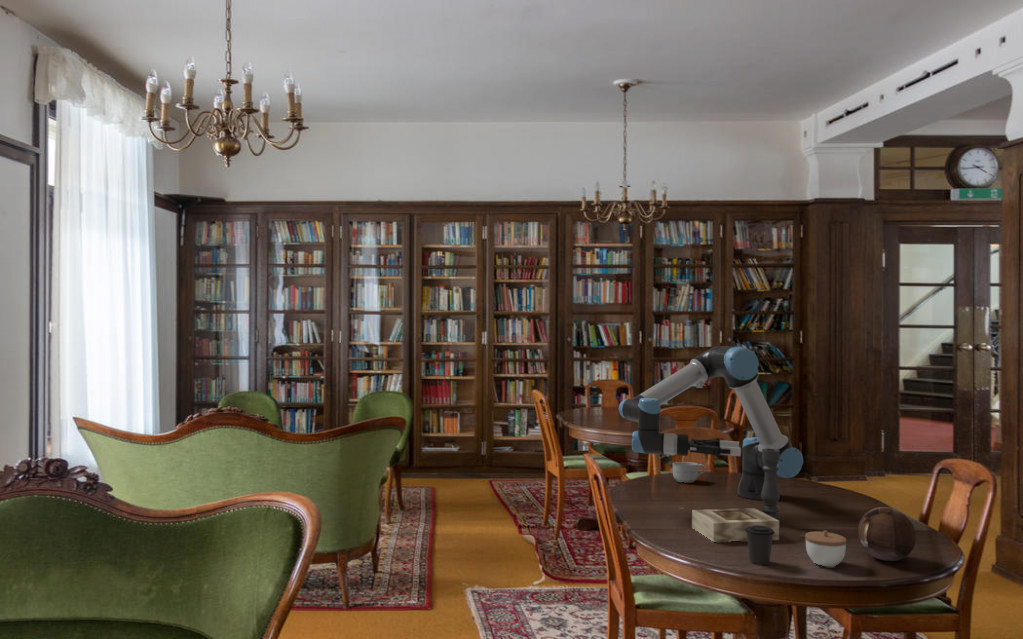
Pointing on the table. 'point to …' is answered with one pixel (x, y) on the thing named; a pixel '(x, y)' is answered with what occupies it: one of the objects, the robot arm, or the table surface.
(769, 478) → the candle holder
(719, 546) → the table surface
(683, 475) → the teacup
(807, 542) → the lidded jar
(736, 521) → the socket block
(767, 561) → the coffee cup
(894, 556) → the clear glass sphere
